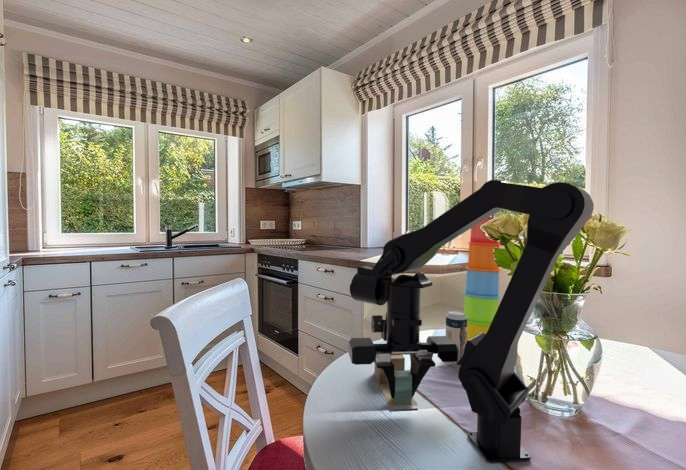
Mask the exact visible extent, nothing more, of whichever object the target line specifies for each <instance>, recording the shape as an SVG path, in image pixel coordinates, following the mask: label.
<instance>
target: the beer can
mask: <svg viewBox="0 0 686 470" xmlns="http://www.w3.org/2000/svg"><path fill="white" fill-rule="evenodd" d="M445 336H446V337H448V338H449V339H450V340H451V341H453V342H454V343H455V344H456V345H457V346H458V348H459V360H460V359H461V358H462V356H463V353H464V348H465V345H466V342H467V317H466V314H465V313H464V311H459V310H449V311H447V313H446V315H445ZM457 362H458V361H457ZM457 362H453V363H455V364H457Z"/></svg>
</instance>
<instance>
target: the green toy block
mask: <svg viewBox="0 0 686 470" xmlns="http://www.w3.org/2000/svg"><path fill="white" fill-rule="evenodd" d="M373 374H374V375H375V373H373ZM394 377H395V395H394V398H391V396H390V392H389V389H388V386H387V384H379V386H380V389H381V391H382V393H383V395H384V397H385V399H386V402H387V403H388V406H389V407H403V406H404V407H406V406H407V407H409V406H418V402H417V401H416V400H415V398H414V397H413V398H412V375H411V374H410V370H405V371H394ZM416 411H417V412H418V408H398V409H388V412H389V413H392V412H395V413H396V412H416Z"/></svg>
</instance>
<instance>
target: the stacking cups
mask: <svg viewBox="0 0 686 470" xmlns="http://www.w3.org/2000/svg"><path fill="white" fill-rule="evenodd" d="M493 218H494V216H490V217H488V218H487V219H485V220H484V221H482V222H480V223H479V224H477V225H475V226H474V227H472V228H471V229H470V240H469V241H468V244H469V245H468V246H469V247H468V248H469V249H468V260H467V266H465V269H466V281H465V291H463V293H462V294H463V295H464V304H463V312H464V313H465V314H466V317H467V341H468V340H470V339H471V338H473V337H475V336H477V335H479V334H480V333H482V332H483V333H485V334H486V333H487V331H488V329H489V327H490V325H491V322H492V320H493V318H494V316H495V314H496V311H497V309H498V307H499V298H501V294H499V282H500V281H499V279H500V277H499V276H500V272H501V271H502V269H501V268H499V266H497V264H496V262H495V259H494V255H493V249H494V247H497V248H499V249H500V246H501V245H500V244H501V243H500V241H499V242H497V241H492V240H490V239H488V238H487V237H486V236H485V232H483V231H482V230H481V229H480V226H481V225H482V224H484V223H486V222H488V221H489V220H491V219H493Z"/></svg>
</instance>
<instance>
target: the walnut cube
mask: <svg viewBox="0 0 686 470" xmlns="http://www.w3.org/2000/svg"><path fill="white" fill-rule="evenodd" d="M405 360H406V357H404V355H391V361H392V363H393V365H394V371H406V370H405V365H406V361H405ZM374 373H375V374H374ZM374 373H373V374H374V375H375V378H376V380H377V382H378V385H380V384H387V382H386V379H385V376H384V373H383V370H382V369H379V368H377V367H376V365H375V364H374Z"/></svg>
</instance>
